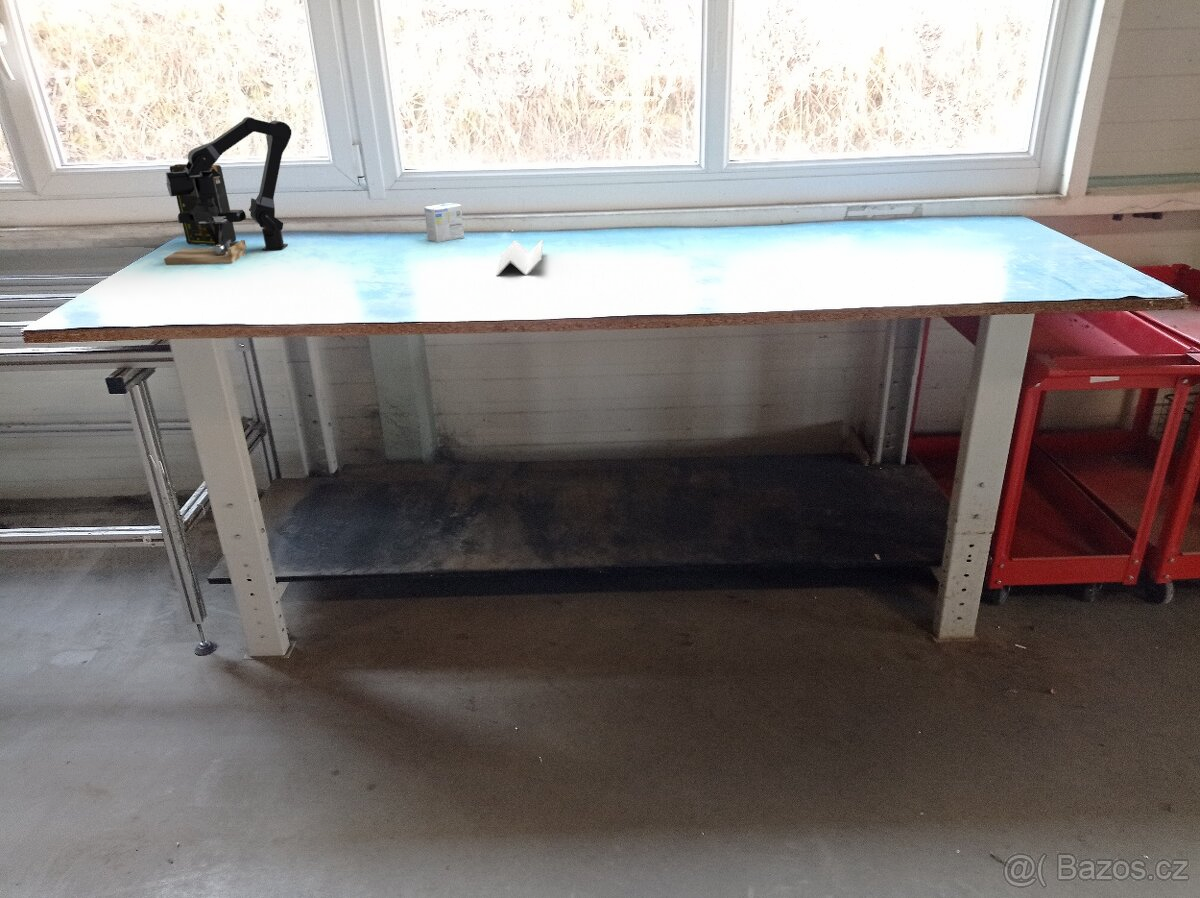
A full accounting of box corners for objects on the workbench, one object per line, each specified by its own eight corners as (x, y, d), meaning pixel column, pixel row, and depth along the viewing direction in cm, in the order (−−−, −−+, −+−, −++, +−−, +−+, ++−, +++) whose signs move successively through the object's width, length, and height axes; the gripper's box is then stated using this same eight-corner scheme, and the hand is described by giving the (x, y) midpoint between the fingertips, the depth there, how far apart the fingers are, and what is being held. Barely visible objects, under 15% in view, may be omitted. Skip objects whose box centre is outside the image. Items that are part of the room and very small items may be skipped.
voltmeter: (183, 244, 282) (165, 166, 271) (201, 239, 289) (184, 162, 278) (223, 247, 278) (206, 167, 266) (240, 241, 285) (224, 163, 274)
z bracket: (512, 291, 241) (495, 276, 239) (516, 268, 263) (501, 254, 261) (541, 260, 237) (524, 244, 235) (543, 239, 259) (527, 225, 257)
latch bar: (224, 255, 257) (222, 245, 256) (213, 255, 257) (211, 246, 256) (233, 246, 267) (231, 237, 266) (223, 247, 267) (221, 238, 266)
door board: (182, 255, 268) (179, 241, 266) (247, 253, 269) (245, 239, 267) (165, 264, 257) (162, 250, 255) (233, 263, 258) (230, 249, 256)
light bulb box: (454, 234, 288) (451, 201, 283) (465, 237, 283) (462, 204, 278) (426, 239, 282) (423, 206, 277) (436, 242, 277) (433, 209, 272)
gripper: (164, 198, 250) (176, 251, 257) (228, 196, 251) (238, 249, 258) (180, 191, 260) (191, 242, 267) (241, 190, 261) (251, 241, 268)
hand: (217, 244), depth 265 cm, fingers closed
